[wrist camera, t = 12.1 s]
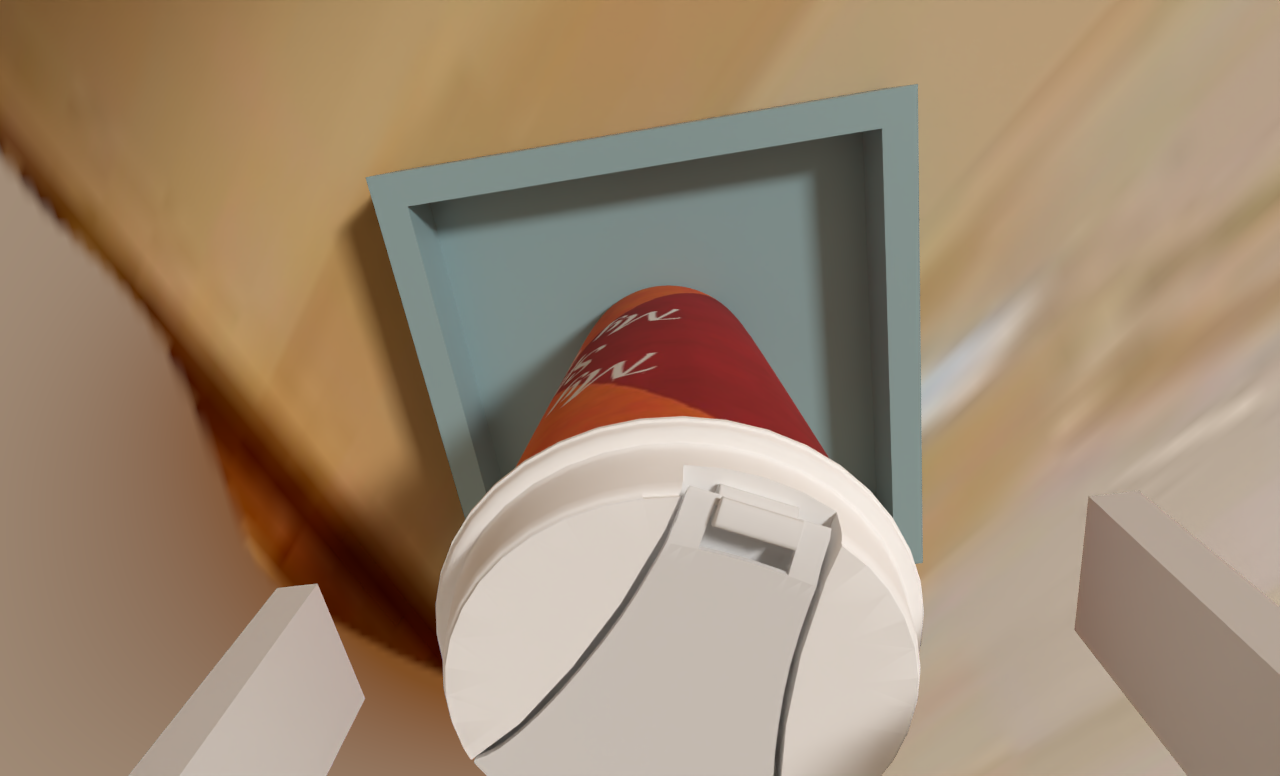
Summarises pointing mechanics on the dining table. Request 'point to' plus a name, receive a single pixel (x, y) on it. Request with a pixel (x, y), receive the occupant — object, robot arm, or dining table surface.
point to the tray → (677, 272)
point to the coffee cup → (678, 575)
